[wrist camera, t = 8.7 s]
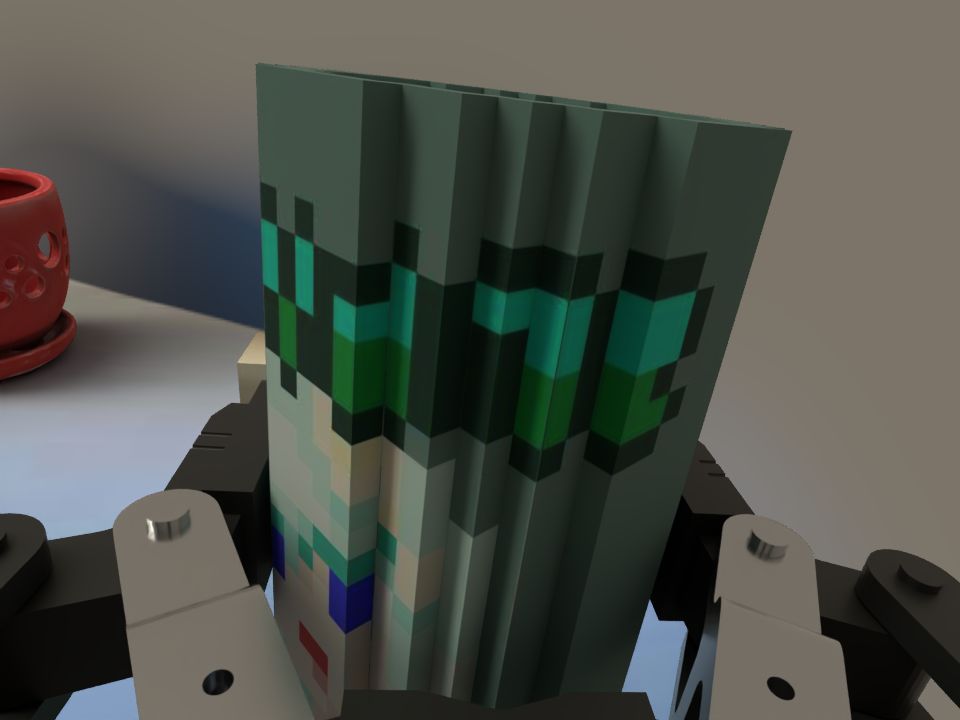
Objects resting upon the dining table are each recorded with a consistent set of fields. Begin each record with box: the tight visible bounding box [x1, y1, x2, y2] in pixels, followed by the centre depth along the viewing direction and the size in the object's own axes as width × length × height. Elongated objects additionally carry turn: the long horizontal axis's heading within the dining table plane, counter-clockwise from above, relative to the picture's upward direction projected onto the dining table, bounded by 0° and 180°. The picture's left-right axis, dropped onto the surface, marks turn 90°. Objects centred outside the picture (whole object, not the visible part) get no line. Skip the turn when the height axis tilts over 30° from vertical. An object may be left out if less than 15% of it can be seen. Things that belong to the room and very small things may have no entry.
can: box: [256, 63, 792, 720], centre depth 11 cm, size 6×6×15 cm
